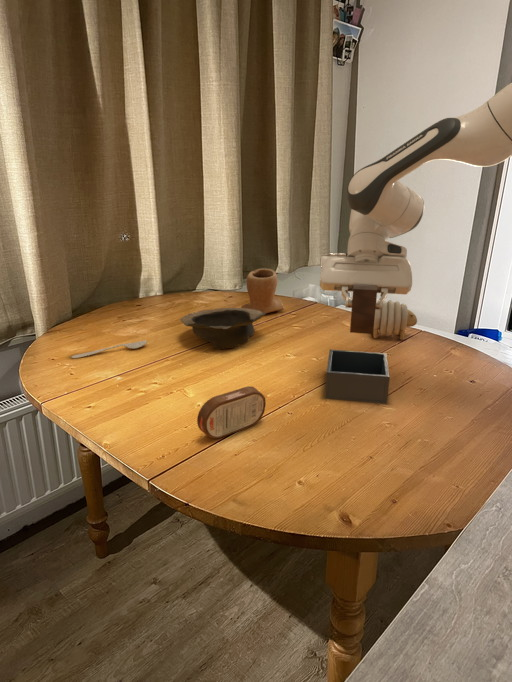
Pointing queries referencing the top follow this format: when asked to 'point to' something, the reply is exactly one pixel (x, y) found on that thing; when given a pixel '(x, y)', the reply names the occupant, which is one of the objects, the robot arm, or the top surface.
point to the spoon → (129, 345)
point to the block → (363, 308)
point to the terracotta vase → (263, 291)
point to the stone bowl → (224, 325)
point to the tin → (231, 412)
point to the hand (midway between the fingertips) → (363, 307)
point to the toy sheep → (393, 319)
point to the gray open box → (357, 376)
